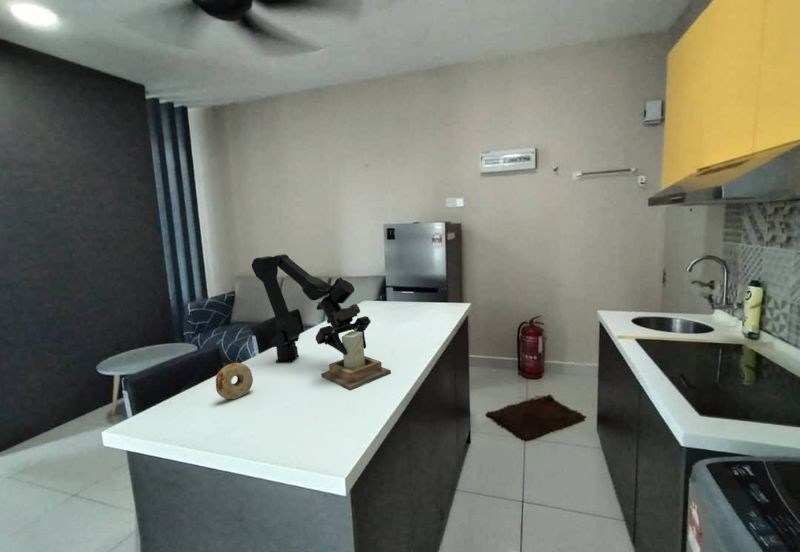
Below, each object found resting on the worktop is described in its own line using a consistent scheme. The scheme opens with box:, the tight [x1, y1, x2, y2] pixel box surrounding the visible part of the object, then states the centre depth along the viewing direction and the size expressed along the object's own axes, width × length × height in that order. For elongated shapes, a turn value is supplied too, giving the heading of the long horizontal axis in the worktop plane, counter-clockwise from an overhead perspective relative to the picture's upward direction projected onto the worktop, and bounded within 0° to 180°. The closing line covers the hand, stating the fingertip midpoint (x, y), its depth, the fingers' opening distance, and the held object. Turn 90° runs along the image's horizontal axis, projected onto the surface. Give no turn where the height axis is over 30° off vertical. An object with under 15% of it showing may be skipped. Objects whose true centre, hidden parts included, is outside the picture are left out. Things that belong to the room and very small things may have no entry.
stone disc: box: [215, 362, 254, 400], centre depth 112 cm, size 10×4×10 cm, turn 139°
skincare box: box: [341, 330, 365, 371], centre depth 122 cm, size 6×4×12 cm
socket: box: [320, 355, 392, 391], centre depth 123 cm, size 16×16×4 cm
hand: (356, 351), depth 121 cm, fingers closed on skincare box, 7 cm apart
